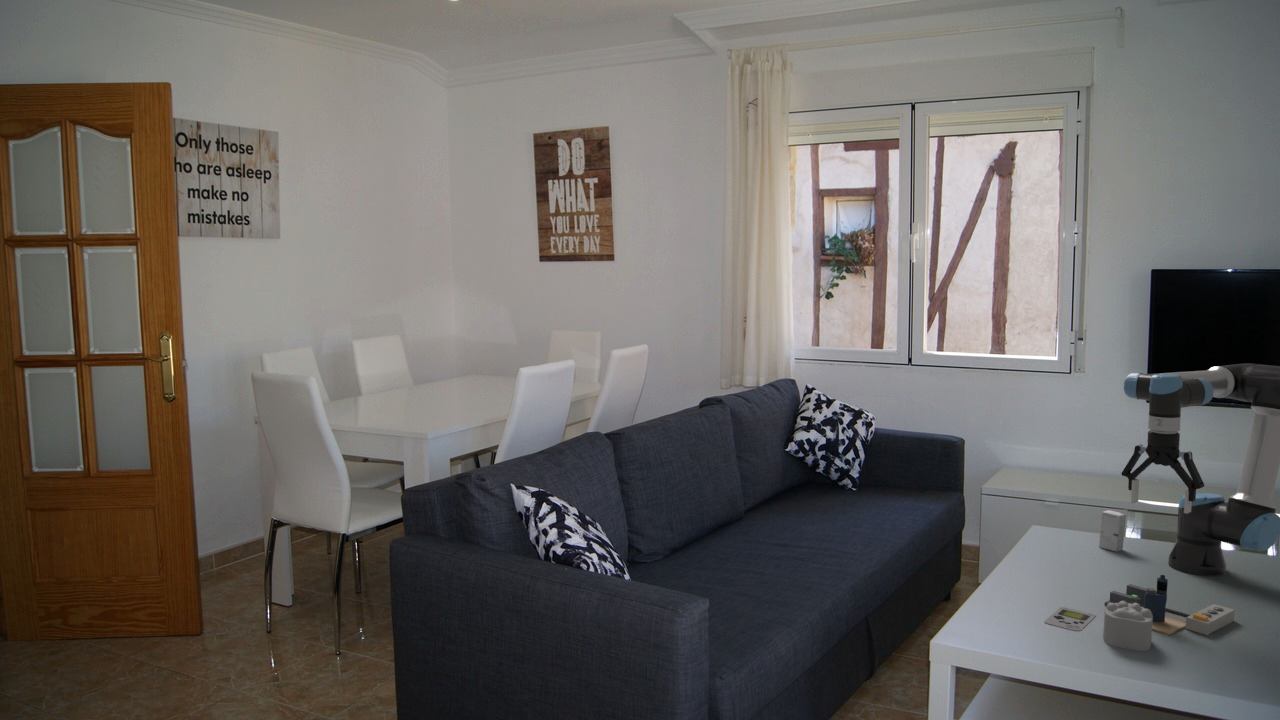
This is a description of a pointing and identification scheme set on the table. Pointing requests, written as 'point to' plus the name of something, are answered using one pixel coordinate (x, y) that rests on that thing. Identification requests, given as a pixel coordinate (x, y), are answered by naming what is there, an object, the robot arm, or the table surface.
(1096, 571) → the table surface
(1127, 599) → the frame
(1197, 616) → the power strip
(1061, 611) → the handheld gaming device
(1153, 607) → the vaping device
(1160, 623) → the mat
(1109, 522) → the skincare box
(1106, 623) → the lumpy-topped squat cylinder
